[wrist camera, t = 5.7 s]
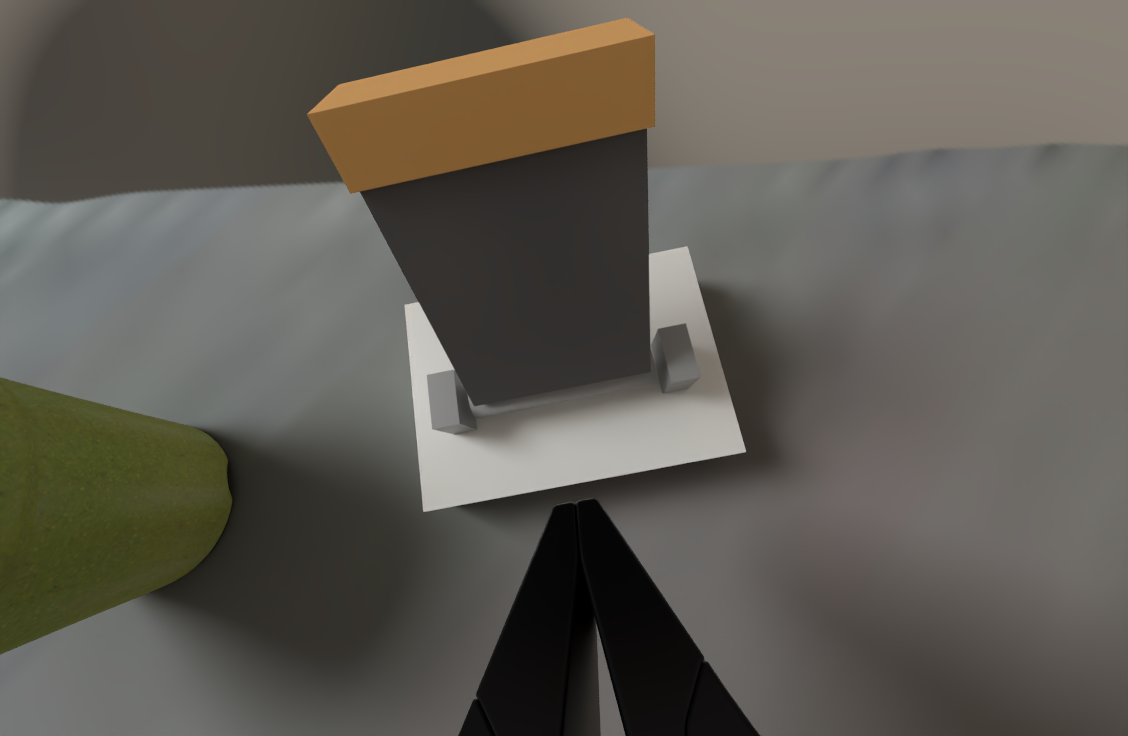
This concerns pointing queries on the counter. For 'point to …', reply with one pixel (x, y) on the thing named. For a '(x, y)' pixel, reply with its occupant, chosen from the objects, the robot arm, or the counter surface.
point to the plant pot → (97, 507)
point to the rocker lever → (516, 206)
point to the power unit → (578, 410)
